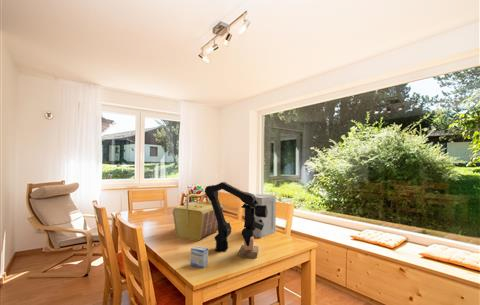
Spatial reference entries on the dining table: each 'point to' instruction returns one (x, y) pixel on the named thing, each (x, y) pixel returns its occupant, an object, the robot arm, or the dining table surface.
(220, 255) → the dining table surface
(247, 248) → the terracotta block
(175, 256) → the dining table surface
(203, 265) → the medicine box
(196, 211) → the picnic basket
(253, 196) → the robot arm
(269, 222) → the grey upright carton
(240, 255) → the walnut base
